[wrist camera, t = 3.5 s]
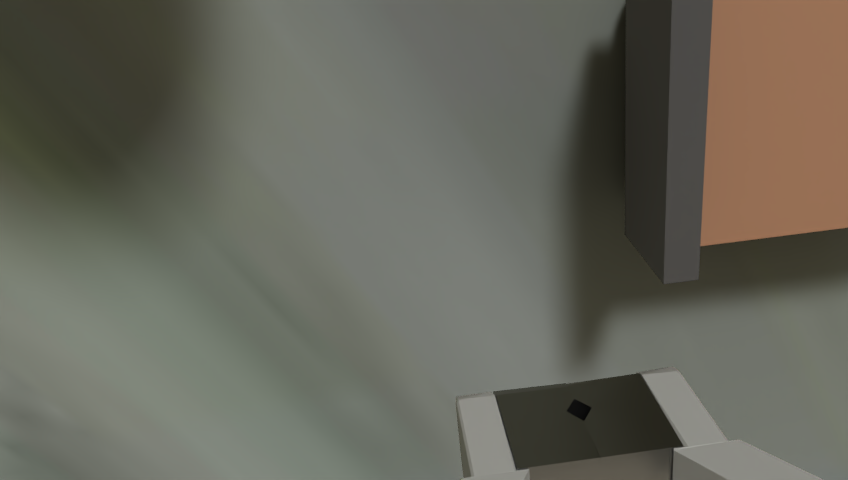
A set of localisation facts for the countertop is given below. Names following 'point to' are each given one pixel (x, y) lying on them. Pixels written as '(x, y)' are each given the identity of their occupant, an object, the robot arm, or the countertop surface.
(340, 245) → the countertop surface
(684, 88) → the trolley
